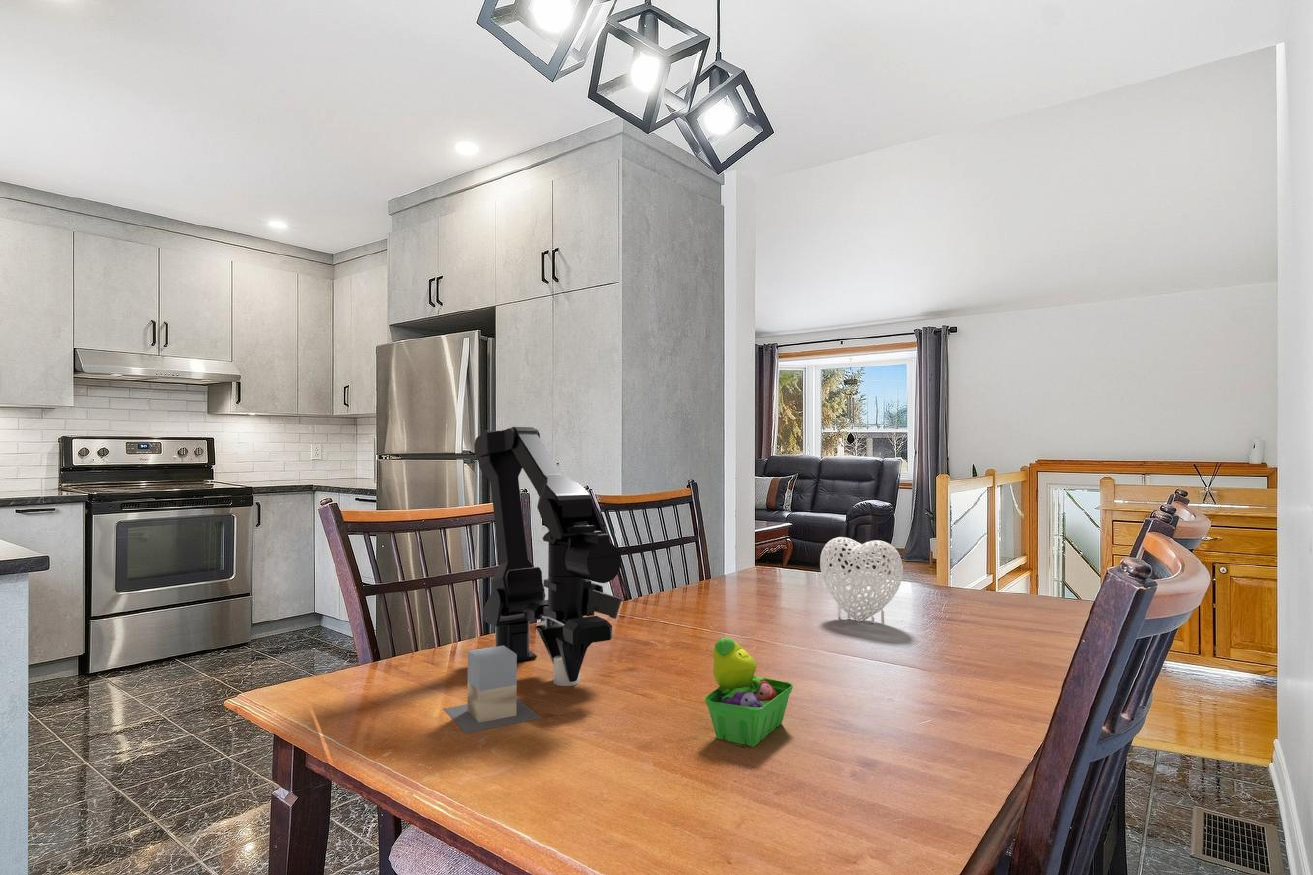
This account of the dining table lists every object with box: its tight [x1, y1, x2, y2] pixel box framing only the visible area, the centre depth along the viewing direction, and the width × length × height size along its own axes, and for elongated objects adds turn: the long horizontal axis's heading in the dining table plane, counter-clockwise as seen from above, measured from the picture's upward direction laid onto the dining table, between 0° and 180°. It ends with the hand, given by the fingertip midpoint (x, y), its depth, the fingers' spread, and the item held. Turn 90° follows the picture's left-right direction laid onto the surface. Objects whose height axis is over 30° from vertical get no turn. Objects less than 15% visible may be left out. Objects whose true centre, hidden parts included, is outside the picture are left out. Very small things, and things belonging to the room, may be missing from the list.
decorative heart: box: [819, 536, 904, 625], centre depth 150 cm, size 18×11×17 cm, turn 44°
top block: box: [467, 646, 518, 691], centre depth 96 cm, size 5×5×4 cm
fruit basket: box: [704, 637, 794, 747], centre depth 92 cm, size 11×9×11 cm
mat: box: [443, 696, 542, 735], centre depth 96 cm, size 10×10×1 cm
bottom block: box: [466, 681, 517, 723], centre depth 96 cm, size 5×5×4 cm
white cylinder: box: [552, 655, 581, 687], centre depth 109 cm, size 4×4×4 cm
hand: (566, 677), depth 109 cm, fingers closed on white cylinder, 4 cm apart
